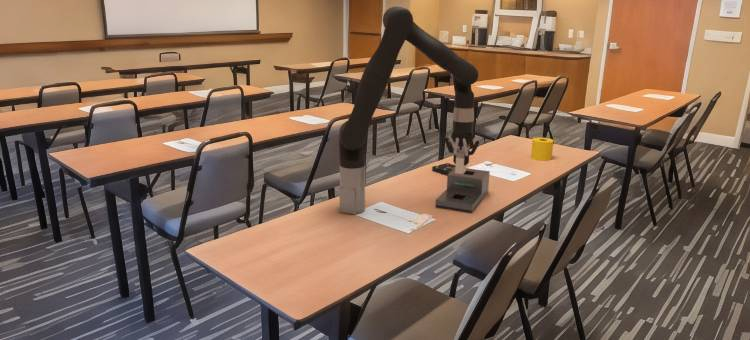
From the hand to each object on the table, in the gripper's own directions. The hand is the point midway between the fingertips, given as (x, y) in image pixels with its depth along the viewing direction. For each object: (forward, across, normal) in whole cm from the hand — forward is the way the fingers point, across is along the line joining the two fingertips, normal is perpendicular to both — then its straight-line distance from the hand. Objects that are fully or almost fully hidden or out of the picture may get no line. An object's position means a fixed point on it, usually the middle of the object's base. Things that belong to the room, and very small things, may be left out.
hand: (461, 164), depth 205 cm
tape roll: (+17, +19, +83) cm, 87 cm away
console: (+16, 0, +7) cm, 17 cm away
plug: (+3, 0, 0) cm, 3 cm away
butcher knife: (+16, -8, -24) cm, 30 cm away
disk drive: (+17, -15, +38) cm, 44 cm away
